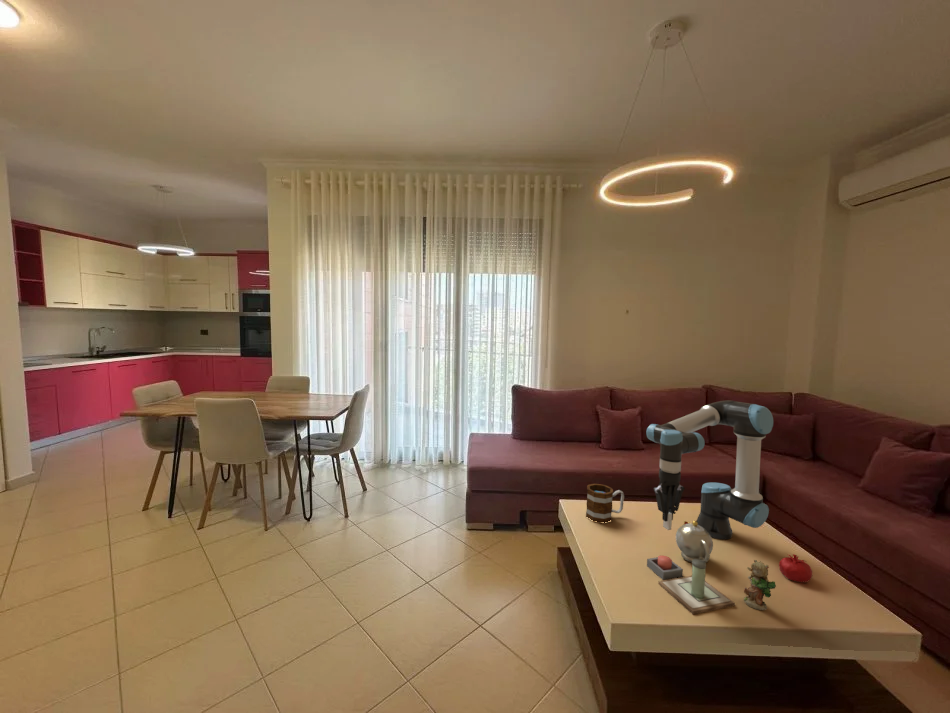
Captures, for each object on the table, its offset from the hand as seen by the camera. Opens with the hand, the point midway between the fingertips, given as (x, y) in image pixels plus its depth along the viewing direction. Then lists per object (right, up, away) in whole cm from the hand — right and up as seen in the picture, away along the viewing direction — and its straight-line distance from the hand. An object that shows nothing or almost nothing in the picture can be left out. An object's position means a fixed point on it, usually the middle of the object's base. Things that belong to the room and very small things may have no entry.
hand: (667, 528), depth 150 cm
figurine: (+23, -19, -17) cm, 35 cm away
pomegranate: (+50, -19, -1) cm, 53 cm away
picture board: (+4, -18, -12) cm, 23 cm away
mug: (-9, -15, +45) cm, 48 cm away
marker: (+3, -17, -15) cm, 23 cm away
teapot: (+16, -18, +9) cm, 25 cm away
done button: (-1, -17, +1) cm, 17 cm away
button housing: (-1, -18, +1) cm, 18 cm away
